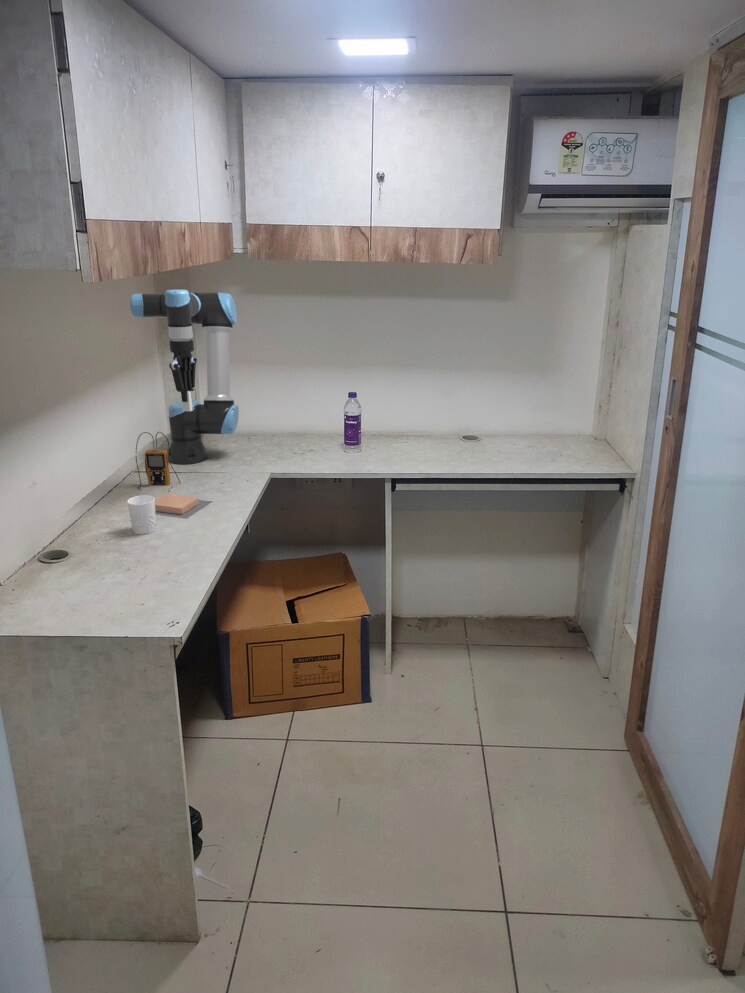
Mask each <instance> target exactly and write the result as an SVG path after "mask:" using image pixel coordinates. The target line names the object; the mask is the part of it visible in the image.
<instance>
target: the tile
mask: <svg viewBox="0 0 745 993" xmlns="http://www.w3.org/2000/svg"><path fill="white" fill-rule="evenodd" d="M199 500H200V499H199V497H195V496H187V495H177V494H170V493H166V494H165V495H163V496H161V497H160V498H158V499H156V500H155V511H159V512H167V513H174V514H184V513H185V512H187V511H189V510H190V509H192V508H193V507H195V506H196V505H198V504H199Z"/></svg>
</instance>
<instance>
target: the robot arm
mask: <svg viewBox="0 0 745 993" xmlns="http://www.w3.org/2000/svg"><path fill="white" fill-rule="evenodd" d="M129 308H130V312H131V314H132V315H133V316H134V317H135V318H163V319H164V318H166V319H167V321H166V322H167V329H168V338H169V339H170V340H169V351H170V352H171V353H173V362H172V363H169V366H168V367H169V369H170V370H171V374H172V377H173V381H174V386H175V390H176V392H178V393H180V394H181V395H180V397H181V401H176V402H174V403H171V404H170V405H169V406H168V420H169V421H168V422H169V429H170V430H169V431H170V438H171V442H170V445H169V449H168V455H169V460H168V462H169V461H170V463H173V464H176V465H191V464H197V463H201V462H205V460H207V459H208V451H207V449H206V446H205V443H204V442H203V440H202V435H221V436H222V435H231V434H234V432H235V431H236V429H237V426H238V423H239V413H240V410H239V405H238V404H236V403H235V399H234V398H233V397H232V396H231V389H230V387H231V386H230V384H231V383H230V382H231V381H230V378H231V377H230V338H229V336H230V333H231V332H232V330H234V329H233V326H234V325H236V324H237V323H238V313H237V306H236V303H235V300H234V298H233V296H232V295H231V294H230V293H228V292H227V293H226V292H189V290H187V289H167V290H166V291H165V292H164V293H142V292H141V293H140V292H139V293H134V294H132V295H131V296H130V299H129ZM194 324H195V325H197V324H198V325H201V329H202V330H203V331H204V332H205V338H206V339H205V342H206V348H205V349H206V350H205V351H206V382H207V383H206V385H207V388H206V389H207V396H205V398H203V404H202V403H200V402H199V401H198V400H197V399H192V392H194V391H195V389H194V388H195V386H196V385H195V384H196V365H197V362H198V360H197V357H193V355H192V352H194V350H195V346H194V340H193V338H194V334H193V325H194Z"/></svg>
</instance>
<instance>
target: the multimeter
mask: <svg viewBox="0 0 745 993" xmlns="http://www.w3.org/2000/svg"><path fill="white" fill-rule="evenodd" d="M159 433H160V434H162V435H163V436H164V438H165V439H166V441H167V444H168V446H170V442H169V439H168V437H167V436H166V435H165V434H164V433H163V432H162V431H157V433H156V434H155V437H158V434H159ZM143 434H149V435H150V436H151V438H152V446H153V447H152V449H148V450H145V452H144V457H145V458H144V466H145V473H146V477H147V483H148V486H156V487H159V486H160V487H161V486H166V487H169V486H170V485H171V475H170V466H171V469H172V470H173V472H174V474H175V475H176V478H177V479H178V483H179V485H181V480H180V478H179V476H178V474H177V472H176V471H175V469H174V467H173V465H172V464H171V462H170V461H169V455H168V454H169V452H168V450H166V449H159V446H158V440H157V438H155V439H154V436H153V435H152V434H151V433H150V432H146V431H144V432H141V433H140V434H139V435H138V438H137V441H136V446H135V452H137V451H138V450H137V449H138V448H137V447H138V443H139V440H140V437H141V436H142V435H143ZM155 445H156V446H155ZM135 462H136V468H137V472H138V478H139V486H138V487H137V490H140V491H142V490H143V491H144V489H143V488H140V487H141V486H142V482H141V475H140V470H139V466H138V460H137V457H135Z"/></svg>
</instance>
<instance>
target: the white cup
mask: <svg viewBox="0 0 745 993" xmlns="http://www.w3.org/2000/svg"><path fill="white" fill-rule="evenodd" d="M155 501H156V500H155V497H154V496H153V495H136V496H133V497H129V499H127V507H128V513H129V518H130V523H131V528H132V533H133V534H136V535H149V534H151V533H154V532H155V531H157V530H156V529H157V526H156V521H157V518H156V516H157V515H156V514H155Z"/></svg>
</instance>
